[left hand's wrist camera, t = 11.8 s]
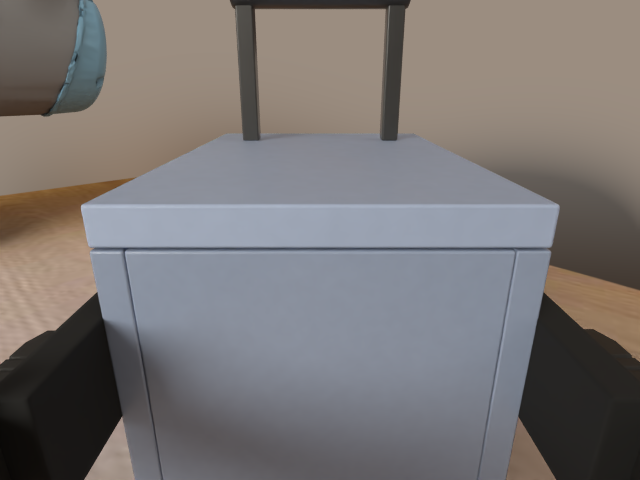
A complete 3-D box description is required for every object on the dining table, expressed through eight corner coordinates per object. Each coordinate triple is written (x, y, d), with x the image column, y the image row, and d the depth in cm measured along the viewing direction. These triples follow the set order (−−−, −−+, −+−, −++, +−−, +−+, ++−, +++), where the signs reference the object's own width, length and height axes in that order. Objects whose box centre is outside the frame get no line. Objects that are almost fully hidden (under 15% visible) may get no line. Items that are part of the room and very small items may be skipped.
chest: (237, 327, 25) (224, 154, 21) (402, 327, 25) (415, 154, 21) (152, 574, 12) (87, 251, 9) (487, 574, 12) (552, 251, 9)
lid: (226, 152, 22) (213, -30, 19) (413, 152, 22) (427, -30, 19) (87, 249, 9) (-21, -286, 6) (553, 249, 9) (660, -285, 6)
